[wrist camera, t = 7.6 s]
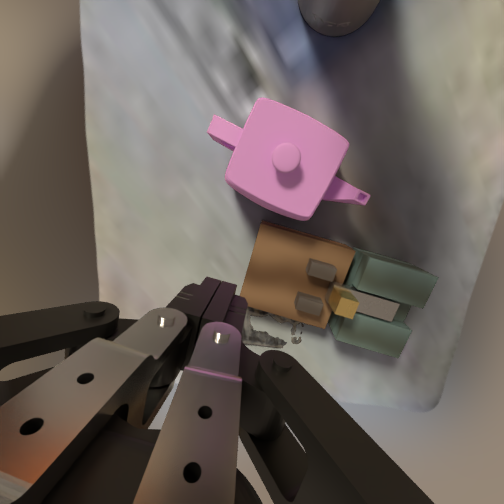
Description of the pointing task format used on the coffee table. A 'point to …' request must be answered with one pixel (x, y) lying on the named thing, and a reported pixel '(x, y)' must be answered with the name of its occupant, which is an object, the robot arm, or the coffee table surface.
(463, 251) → the coffee table surface
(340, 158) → the teapot
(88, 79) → the coffee table surface
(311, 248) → the block set
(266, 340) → the driftwood
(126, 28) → the coffee table surface
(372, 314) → the yellow-capped grey beam
